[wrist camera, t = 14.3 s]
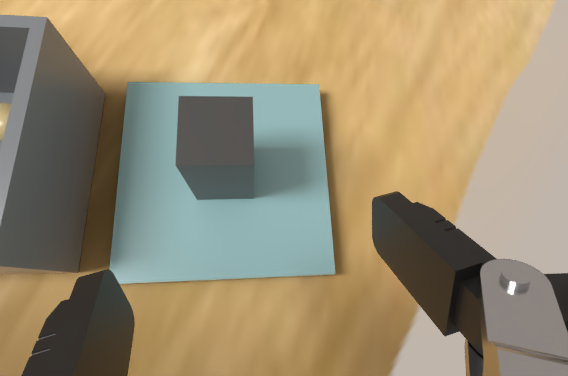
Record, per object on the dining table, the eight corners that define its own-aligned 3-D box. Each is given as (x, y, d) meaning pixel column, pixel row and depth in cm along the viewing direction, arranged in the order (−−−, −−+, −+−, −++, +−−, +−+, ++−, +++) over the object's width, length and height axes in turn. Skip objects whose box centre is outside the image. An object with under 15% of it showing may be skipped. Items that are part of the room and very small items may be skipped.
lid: (118, 284, 23) (43, 282, 15) (135, 94, 28) (84, 10, 19) (329, 275, 25) (369, 268, 16) (315, 96, 29) (340, 18, 21)
